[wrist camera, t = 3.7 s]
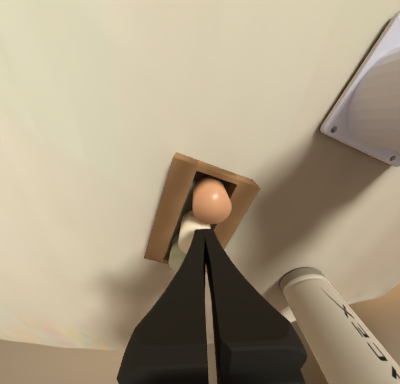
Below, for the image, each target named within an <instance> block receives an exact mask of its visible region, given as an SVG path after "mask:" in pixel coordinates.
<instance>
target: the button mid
mask: <svg viewBox="0 0 400 384" xmlns="http://www.w3.org/2000/svg"><path fill="white" fill-rule="evenodd" d="M210 228H211V227H210V224H205V223H202V222H200V221H199V220H198V219H197V218H196V217H195V216H194V214H193V211H189V212H187V213H186V214H185V215H184V216H183V217H182V220H181V226H180V233H179V240H178V246H179V248H180V250H181V251H182V252H184V253H185V254H187V252H188V250H189V247H190V245H191V242H192V239H193V236H194V231H195V230H196V229H210Z"/></svg>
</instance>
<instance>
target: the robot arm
mask: <svg viewBox="0 0 400 384" xmlns="http://www.w3.org/2000/svg"><path fill="white" fill-rule="evenodd" d="M333 127H334V129H333V131H332V132H331V129H332V128H333ZM320 131H321V133H323V134H325V135H327V136H329V137H331V138H334V139H336V140H338V141H340V142H342V143H344V144H346V145H349V146H351V147H353V148H355V149H357V150H359V151H361V152H363V153H366V154H368V155H370V156H372V157H374V158H376V159H378V160H381V161H383V162H385V163H387V164H389V165H391V166H395V167H398V166H400V11H398V12H397V13H396V14H395V15H394V16H393V18H392V19H391V21H390V22H389V24H388V25H387V27H386V28H385V30H384V31H383V33H382V34H381V36H380V37H379V39H378V40H377V42H376V43H375V45H374V47H373V48H372V50H371V51H370V53H369V54H368V56H367V57H366V59H365V60H364V62H363V63H362V65H361V66H360V68H359V69H358V71H357V72H356V74H355V75H354V77H353V78H352V80H351V81H350V83H349V84H348V86H347V88H346V89H345V91H344V92H343V94H342V95H341V97H340V98H339V100H338V101H337V103H336V104H335V106H334V107H333V109H332V110H331V112H330V113H329V115H328V116H327V118H326V119H325V121H324V122H323V124H322V126H321V128H320ZM206 268H207V274H208V281H209V287H210V294H211V302H212V315H213V329H214V342H215V356H216V370H217V383H218V384H305V380H304V378H303V375H302V373H301V371H300V369H301V367H302V366H303V364H304V363H305V362H306V359H307V353H306V350H305V348H304V346H303V344H302V342H301V340H300V338H299V336H298V335H297V333H296V331H295V330H294V328H293V326H292V325H291V323H290V322H289V321H288V320H287V319H286V318H285V317H284V316H283V315H282V314H280V313H279V312H278V311H277V310H276V309H275V308H274V307H273V306H272V305H270V304H269V303H268V302H267V301H266V300H265V299H264V298H263V297H262V296H261V295H260V294H259V293H258V292H257V291H256V290H255V289H254V287H253V286H252V285H251V284H250V283H249V282H248V281H247V280H246V279H245V278H244V276H243V275H242V274H241V273H240V272H239V270H238V269H237V268H236V267H235V265H234V264H233V263H232V261H231V260H230V258H229V257H228V255H227V254H226V252H225V251H224V249H223V247H222V246H221V244H220V242H219V240H218V238H217V236H216V234H215V232H214V229H212V228H210V229H196V230H195V231H194V236H193V239H192V242H191V245H190V247H189V250H188V252H187V254H186V256H185V258H184V260H183V262H182V264H181V266H180V268H179V270H178V272H177V273H176V275H175V277H174V278H173V280H172V281H171V283H170V284H169V286H168V287H167V289H166V290H165V292H164V293H163V294H162V296H161V297H160V298H159V300H158V301H157V302H156V304H155V305H154V306H153V307H152V309H151V310H150V311H149V312H148V314H147V315H146V316H145V317H144V318H143V319H142V321H141V322H140V323H139V324H138V325H137V326H136V328H135V329H134V332H133V334H132V336H131V338H130V340H129V343H128V345H127V348H126V350H125V353H124V356H123V360H122V363H121V367H120V369H119V373H118V376H117V381H118V383H119V384H209V383H208V361H207V339H206V317H205V269H206Z"/></svg>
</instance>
